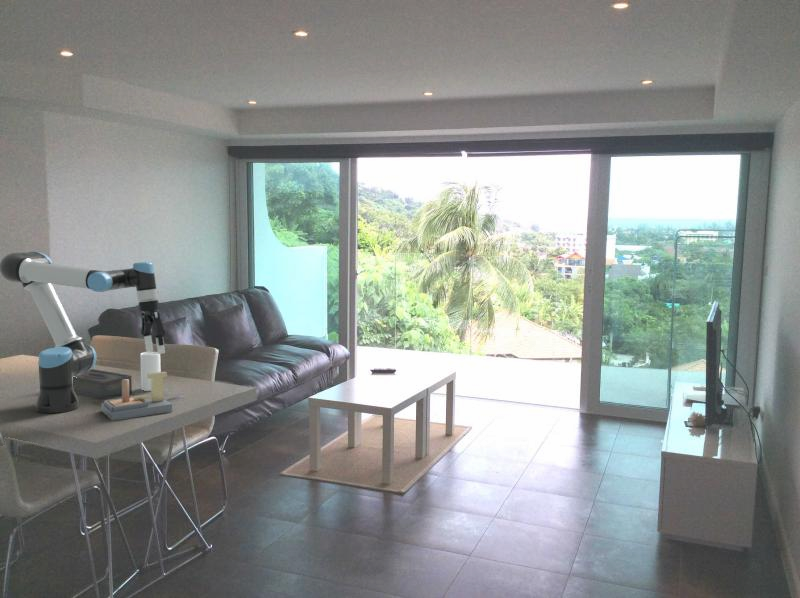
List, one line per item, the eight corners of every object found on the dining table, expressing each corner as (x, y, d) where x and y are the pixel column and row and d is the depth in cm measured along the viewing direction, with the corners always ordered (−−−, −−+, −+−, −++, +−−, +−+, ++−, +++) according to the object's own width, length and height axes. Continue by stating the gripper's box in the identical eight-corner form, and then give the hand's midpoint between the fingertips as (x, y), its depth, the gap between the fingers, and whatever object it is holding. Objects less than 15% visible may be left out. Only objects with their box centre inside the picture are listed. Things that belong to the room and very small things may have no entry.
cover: (115, 410, 252) (114, 383, 251) (108, 404, 260) (108, 379, 259) (143, 406, 258) (142, 380, 257) (135, 400, 266) (134, 375, 265)
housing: (112, 420, 249) (112, 408, 248) (101, 411, 261) (101, 399, 261) (172, 411, 262) (171, 400, 261) (159, 403, 274) (158, 392, 274)
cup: (138, 391, 295) (137, 354, 293) (145, 386, 303) (144, 351, 301) (157, 391, 295) (156, 355, 293) (163, 386, 303) (162, 351, 302)
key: (134, 404, 260) (134, 376, 259) (133, 403, 262) (132, 375, 260) (167, 399, 267) (166, 372, 266) (165, 398, 269) (164, 371, 268)
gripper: (168, 299, 263) (176, 352, 265) (146, 299, 282) (154, 349, 284) (149, 301, 258) (157, 356, 260) (128, 301, 277) (136, 352, 279)
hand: (155, 352), depth 272 cm, fingers open, 13 cm apart
